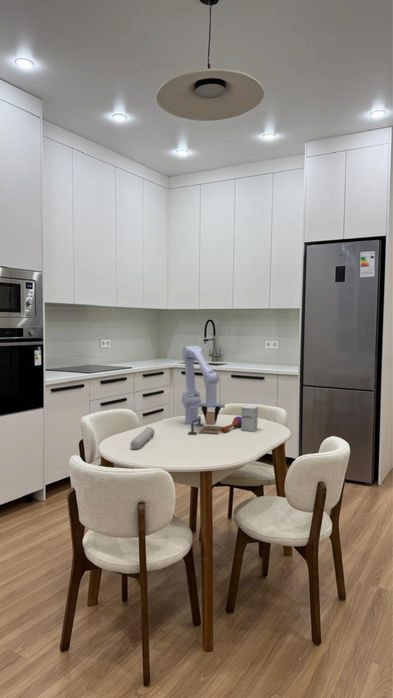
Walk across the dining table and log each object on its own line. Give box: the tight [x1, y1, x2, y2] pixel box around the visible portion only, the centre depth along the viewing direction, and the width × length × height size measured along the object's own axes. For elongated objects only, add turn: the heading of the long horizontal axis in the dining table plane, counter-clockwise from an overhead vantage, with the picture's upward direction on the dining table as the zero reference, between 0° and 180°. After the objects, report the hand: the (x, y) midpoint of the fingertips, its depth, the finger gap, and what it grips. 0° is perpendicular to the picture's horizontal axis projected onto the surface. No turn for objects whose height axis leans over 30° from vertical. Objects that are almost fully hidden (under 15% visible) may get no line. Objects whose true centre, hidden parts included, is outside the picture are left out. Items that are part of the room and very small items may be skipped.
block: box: [205, 411, 217, 426], centre depth 252 cm, size 4×4×6 cm
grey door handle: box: [187, 415, 205, 436], centre depth 254 cm, size 24×4×5 cm, turn 169°
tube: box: [130, 426, 155, 450], centre depth 226 cm, size 5×5×25 cm
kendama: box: [220, 415, 241, 434], centre depth 256 cm, size 6×6×20 cm
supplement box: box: [240, 404, 259, 432], centre depth 254 cm, size 7×7×13 cm
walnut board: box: [198, 425, 223, 435], centre depth 253 cm, size 16×10×1 cm, turn 169°
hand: (210, 420), depth 252 cm, fingers closed on block, 4 cm apart
